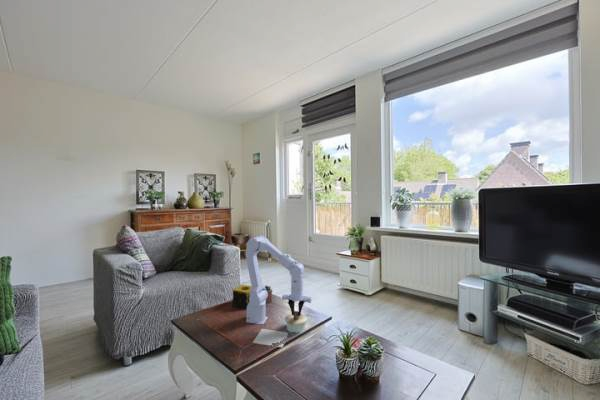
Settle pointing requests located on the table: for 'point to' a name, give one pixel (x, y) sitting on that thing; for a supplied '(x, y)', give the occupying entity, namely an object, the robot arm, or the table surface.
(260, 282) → the robot arm
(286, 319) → the lid
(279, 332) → the mat
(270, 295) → the lighter
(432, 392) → the table surface
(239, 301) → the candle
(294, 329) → the bowl
